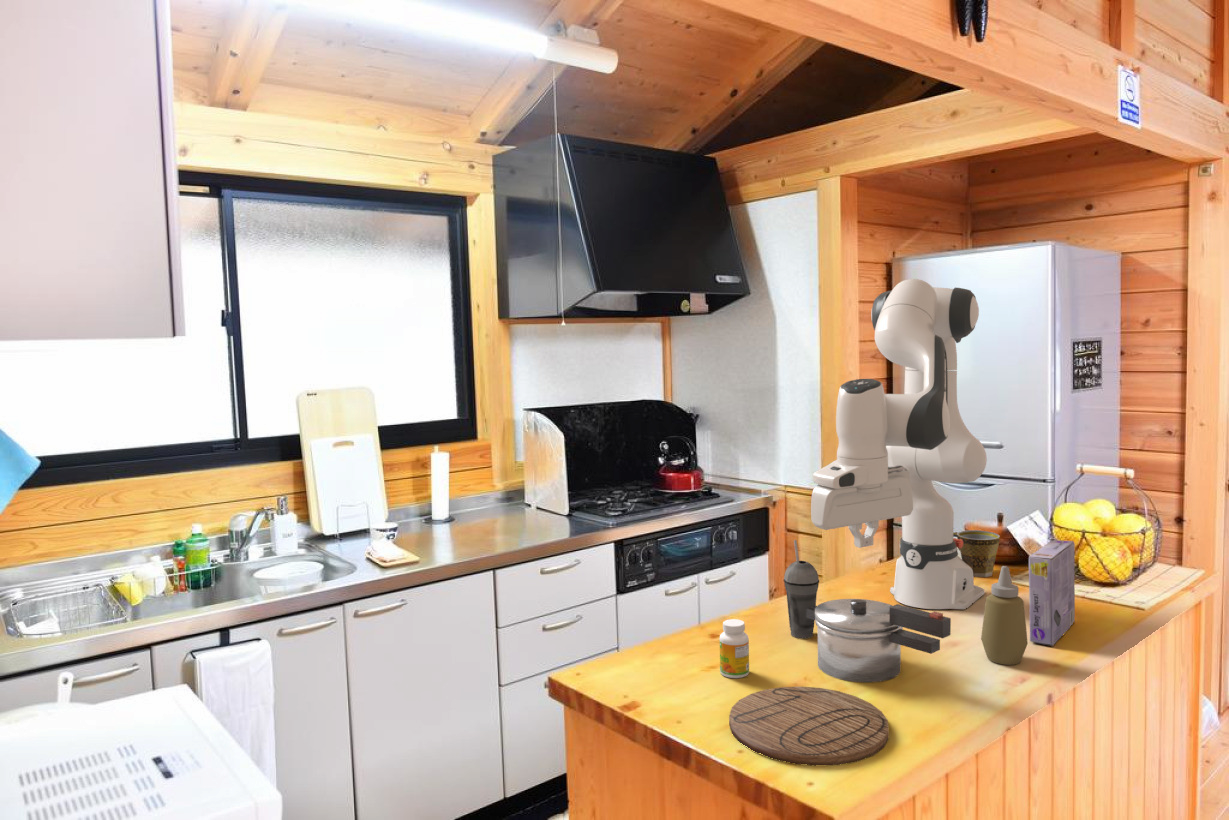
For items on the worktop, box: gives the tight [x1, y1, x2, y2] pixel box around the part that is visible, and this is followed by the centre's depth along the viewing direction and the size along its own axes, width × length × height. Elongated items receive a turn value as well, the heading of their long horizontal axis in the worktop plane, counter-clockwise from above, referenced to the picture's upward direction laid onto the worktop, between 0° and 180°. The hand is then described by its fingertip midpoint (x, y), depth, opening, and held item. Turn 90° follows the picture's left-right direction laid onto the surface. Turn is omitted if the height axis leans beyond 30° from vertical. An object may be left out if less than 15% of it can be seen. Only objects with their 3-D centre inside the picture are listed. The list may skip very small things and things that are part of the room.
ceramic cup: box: [953, 529, 1001, 578], centre depth 226 cm, size 13×10×10 cm
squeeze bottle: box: [980, 565, 1028, 666], centre depth 168 cm, size 8×8×18 cm
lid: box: [815, 598, 952, 639], centre depth 163 cm, size 16×26×5 cm, turn 39°
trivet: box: [728, 686, 890, 767], centre depth 144 cm, size 25×25×2 cm
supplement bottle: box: [719, 618, 750, 679], centre depth 166 cm, size 5×5×10 cm
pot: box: [806, 605, 941, 683], centre depth 166 cm, size 16×27×9 cm, turn 40°
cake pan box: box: [1028, 539, 1076, 647], centre depth 182 cm, size 19×5×18 cm, turn 140°
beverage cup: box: [783, 539, 820, 639], centre depth 185 cm, size 7×7×20 cm
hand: (863, 546), depth 162 cm, fingers closed
